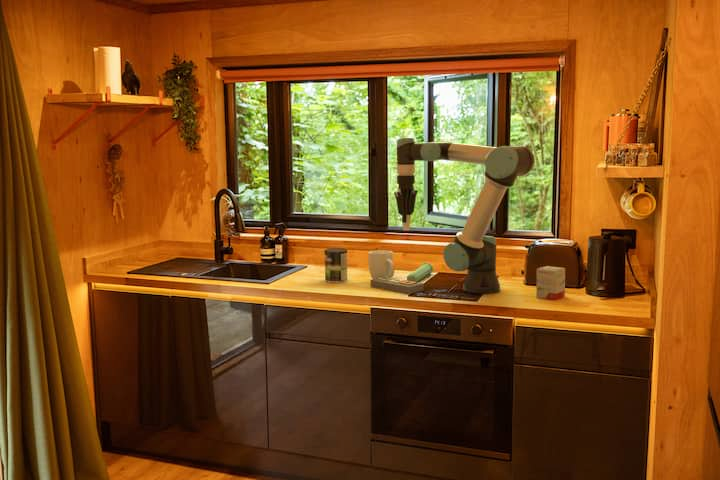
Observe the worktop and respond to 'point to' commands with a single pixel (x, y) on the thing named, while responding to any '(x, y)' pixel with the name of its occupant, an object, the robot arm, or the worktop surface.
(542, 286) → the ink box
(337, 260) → the coffee can
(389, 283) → the socket board
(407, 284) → the tile terracotta
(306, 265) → the worktop surface
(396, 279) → the tile cream
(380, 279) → the tile sage
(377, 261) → the mug
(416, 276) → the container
